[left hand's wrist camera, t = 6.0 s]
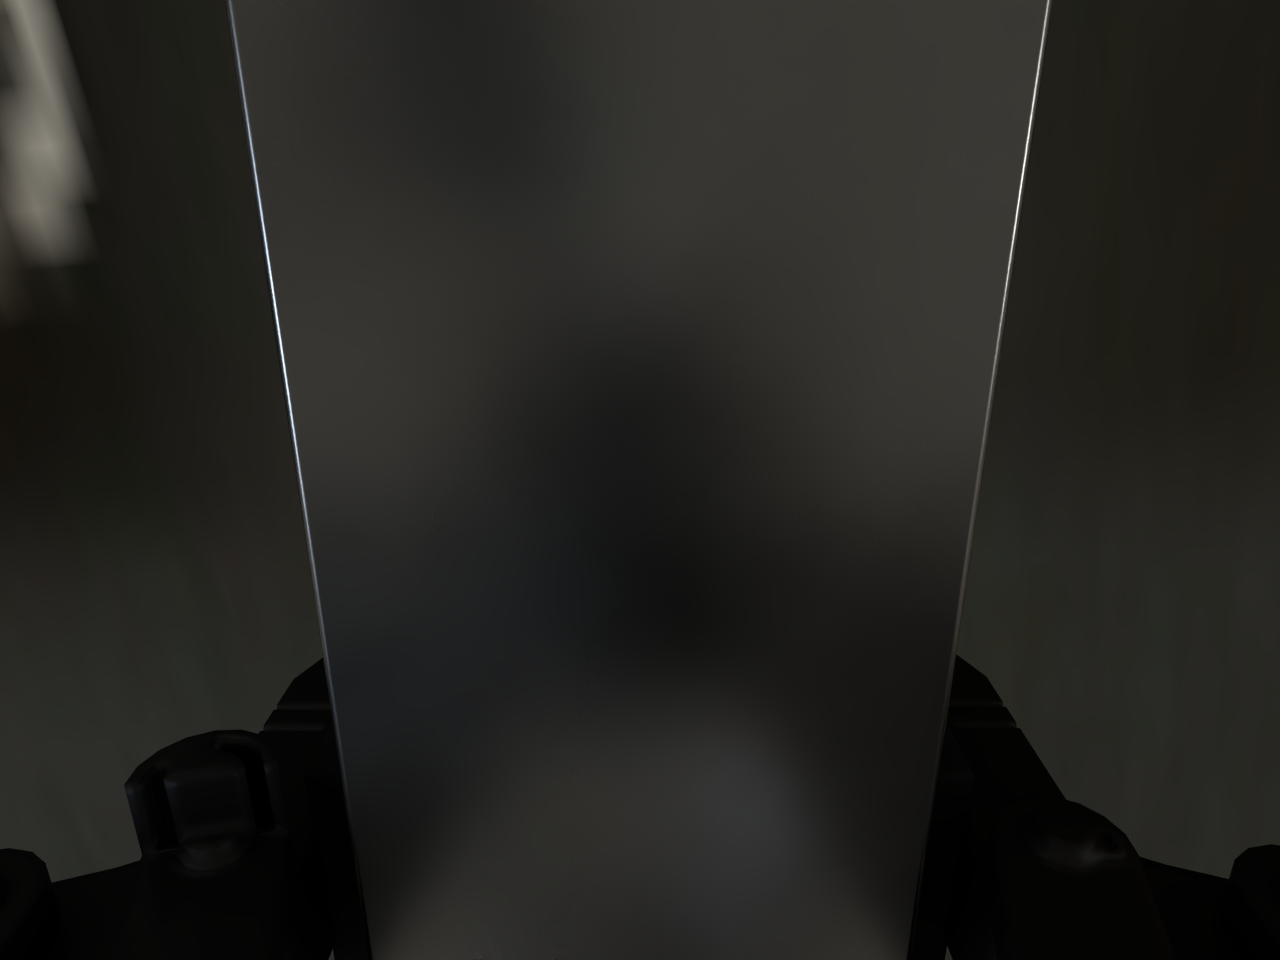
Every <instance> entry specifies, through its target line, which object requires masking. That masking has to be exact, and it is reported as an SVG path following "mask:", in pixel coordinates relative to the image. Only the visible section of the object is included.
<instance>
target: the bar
mask: <svg viewBox="0 0 1280 960" xmlns="http://www.w3.org/2000/svg"><path fill="white" fill-rule="evenodd" d="M225 2H226V8H227V15H228V22H229V28H230V35H231V42H232V49H233V55H234V62H235V69H236V75H237V82H238V89H239V96H240V102H241V109H242V116H243V122H244V129H245V136H246V143H247V149H248V156H249V163H250V170H251V176H252V183H253V190H254V196H255V203H256V210H257V217H258V223H259V230H260V237H261V243H262V250H263V257H264V264H265V270H266V277H267V284H268V290H269V297H270V304H271V311H272V317H273V324H274V331H275V337H276V344H277V351H278V358H279V364H280V371H281V378H282V385H283V391H284V398H285V405H286V411H287V418H288V425H289V432H290V438H291V445H292V452H293V458H294V465H295V472H296V479H297V485H298V492H299V499H300V505H301V512H302V519H303V526H304V532H305V539H306V546H307V553H308V559H309V566H310V573H311V579H312V586H313V593H314V600H315V606H316V613H317V620H318V626H319V633H320V640H321V647H322V653H323V660H324V667H325V673H326V680H327V687H328V694H329V700H330V707H331V714H332V721H333V727H334V734H335V741H336V747H337V754H338V761H339V768H340V774H341V781H342V788H343V794H344V801H345V808H346V815H347V821H348V828H349V835H350V841H351V848H352V855H353V862H354V868H355V875H356V882H357V888H358V895H359V902H360V909H361V915H362V922H363V929H364V936H365V942H366V949H367V956H368V960H911V956H912V949H913V942H914V935H915V929H916V922H917V915H918V908H919V902H920V895H921V888H922V881H923V875H924V868H925V861H926V855H927V848H928V841H929V834H930V828H931V821H932V814H933V807H934V801H935V794H936V787H937V780H938V774H939V767H940V760H941V753H942V747H943V740H944V733H945V726H946V720H947V713H948V706H949V700H950V693H951V686H952V679H953V673H954V666H955V659H956V652H957V646H958V639H959V632H960V625H961V619H962V612H963V605H964V598H965V592H966V585H967V578H968V571H969V565H970V558H971V551H972V545H973V538H974V531H975V524H976V518H977V511H978V504H979V497H980V491H981V484H982V477H983V470H984V464H985V457H986V450H987V443H988V437H989V430H990V423H991V416H992V410H993V403H994V396H995V389H996V383H997V376H998V369H999V363H1000V356H1001V349H1002V342H1003V336H1004V329H1005V322H1006V315H1007V309H1008V302H1009V295H1010V288H1011V282H1012V275H1013V268H1014V261H1015V255H1016V248H1017V241H1018V234H1019V228H1020V221H1021V214H1022V208H1023V201H1024V194H1025V187H1026V181H1027V174H1028V167H1029V160H1030V154H1031V147H1032V140H1033V133H1034V127H1035V120H1036V113H1037V106H1038V100H1039V93H1040V86H1041V79H1042V73H1043V66H1044V59H1045V53H1046V46H1047V39H1048V32H1049V26H1050V19H1051V12H1052V5H1053V0H225Z"/></svg>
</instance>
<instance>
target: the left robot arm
mask: <svg viewBox="0 0 1280 960" xmlns="http://www.w3.org/2000/svg"><path fill="white" fill-rule="evenodd" d="M124 786H125V790H126V794H127V798H128V802H129V806H130V810H131V813H132V817H133V821H134V825H135V829H136V833H137V837H138V841H139V844H140V848H141V852H142V857H141V860H139V861H136V862H133V863H130V864H126V865H123V866H120V867H117V868H113V869H108V870H104V871H100V872H95V873H91V874H87V875H83V876H78V877H74V878H70V879H65V880H61V881H57V882H53V883H51V879H50V876H49V873H48V870H47V867H46V863H45V862H44V861H42V860H41V859H40V858H39V857H38V856H37V855H35V854H34V853H33V852H30V851H24V850H18V849H11V848H7V849H0V960H328V959H329V956H330V954H331V951H332V949H333V952H334V958H335V960H368V956H367V949H366V942H365V936H364V929H363V922H362V915H361V909H360V902H359V895H358V888H357V882H356V875H355V868H354V862H353V855H352V848H351V841H350V835H349V828H348V821H347V815H346V808H345V801H344V794H343V788H342V781H341V774H340V768H339V761H338V754H337V747H336V741H335V734H334V727H333V721H332V714H331V707H330V700H329V694H328V687H327V680H326V673H325V667H324V660H323V658H322V659H320V660H319V661H318V662H316V663H315V664H314V665H312V666H311V667H310V668H308V669H307V670H306V671H304V672H303V673H302V674H300V675H299V676H297V677H296V678H295V679H293V681H292V683H291V684H290V686H289V687H288V689H287V690H286V692H285V693H284V695H283V696H282V698H281V700H280V701H279V703H278V704H277V710H273V712H272V714H271V715H270V717H269V718H268V720H267V721H266V723H265V724H264V729H263V731H260V732H259V734H256V733H252V732H249V731H245V730H215V731H211V732H207V733H203V734H199V735H195V736H191V737H187V738H185V739H182V740H180V741H178V742H176V743H174V744H171V745H169V746H167V747H165V748H163V749H160V750H159V751H157V752H156V753H155V754H153V755H152V756H151V757H149V758H148V759H147V760H145V761H144V762H143V763H141V764H140V765H139V766H137V768H136V769H135V771H134V772H133V773H132V775H131V776H130V777H129V779H128V780H127V782H126V783H125V784H124ZM947 946H948V948H949V951H950V954H951V956H952V959H953V960H1280V846H1279V845H1272V844H1271V845H1265V846H1259V847H1252V848H1248V849H1247V850H1245V851H1244V852H1243V853H1242V854H1241V855H1240V856H1238V857H1237V858H1236V859H1235V861H1234V864H1233V867H1232V871H1231V874H1230V877H1229V879H1226V878H1221V877H1217V876H1213V875H1208V874H1204V873H1200V872H1195V871H1191V870H1187V869H1182V868H1178V867H1174V866H1170V865H1165V864H1162V863H1159V862H1155V861H1152V860H1149V859H1145V858H1142V857H1140V856H1139V855H1138V853H1137V852H1136V850H1135V848H1134V847H1133V845H1132V844H1131V842H1130V841H1129V839H1128V837H1127V836H1126V834H1125V833H1123V832H1122V831H1121V830H1120V829H1119V828H1117V827H1116V826H1115V825H1114V824H1113V823H1112V822H1110V821H1109V820H1108V819H1107V818H1106V817H1104V816H1102V815H1100V814H1099V813H1097V812H1095V811H1093V810H1091V809H1089V808H1087V807H1085V806H1083V805H1081V804H1079V803H1076V802H1072V801H1068V800H1066V799H1065V797H1064V796H1063V794H1062V793H1061V791H1060V790H1059V788H1058V786H1057V785H1056V783H1055V782H1054V780H1053V779H1052V777H1051V776H1050V774H1049V773H1048V771H1047V769H1046V768H1045V766H1044V765H1043V763H1042V762H1041V760H1040V759H1039V757H1038V756H1037V754H1036V752H1035V751H1034V749H1033V748H1032V746H1031V745H1030V743H1029V742H1028V740H1027V739H1026V737H1025V736H1024V734H1023V732H1022V731H1021V729H1020V728H1017V727H1016V722H1015V720H1014V719H1013V717H1012V715H1011V714H1010V712H1009V711H1008V709H1007V708H1006V707H1003V702H1002V700H1001V698H1000V697H999V695H998V694H997V692H996V691H995V689H994V688H993V686H992V685H991V683H990V681H989V680H988V678H987V677H986V676H985V675H983V674H982V673H981V672H979V671H978V670H977V669H975V668H974V667H973V666H971V665H970V664H969V663H967V662H966V661H964V660H963V659H962V658H960V657H959V656H958V655H956V659H955V666H954V673H953V679H952V686H951V693H950V700H949V706H948V713H947V720H946V726H945V733H944V740H943V747H942V753H941V760H940V767H939V774H938V780H937V787H936V794H935V801H934V807H933V814H932V821H931V828H930V834H929V841H928V848H927V855H926V861H925V868H924V875H923V881H922V888H921V895H920V902H919V908H918V915H917V922H916V929H915V935H914V942H913V949H912V956H911V960H945V954H946V948H947Z"/></svg>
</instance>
